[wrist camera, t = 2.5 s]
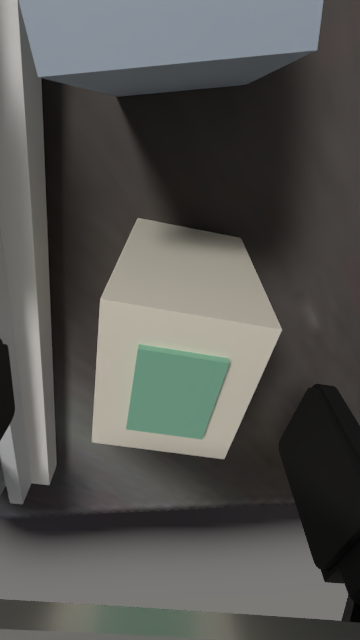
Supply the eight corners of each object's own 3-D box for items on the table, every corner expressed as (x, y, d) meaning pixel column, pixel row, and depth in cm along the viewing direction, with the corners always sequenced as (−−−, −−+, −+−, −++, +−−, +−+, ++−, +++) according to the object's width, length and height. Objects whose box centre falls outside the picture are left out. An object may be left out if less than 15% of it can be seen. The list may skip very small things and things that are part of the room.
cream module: (240, 237, 14) (284, 334, 8) (210, 338, 17) (224, 464, 11) (137, 217, 13) (98, 303, 7) (125, 324, 16) (90, 447, 10)
